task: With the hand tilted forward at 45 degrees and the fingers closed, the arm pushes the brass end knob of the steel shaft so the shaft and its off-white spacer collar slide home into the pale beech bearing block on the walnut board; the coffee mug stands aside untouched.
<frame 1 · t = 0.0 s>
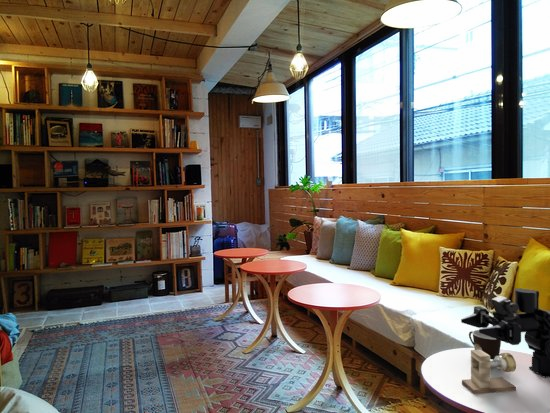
hand: (470, 325, 119), 17 cm above the table, tool horizontal, fingers open, 9 cm apart
shaft: (495, 363, 114), point 7 cm above the table, slide at 4.0 cm
coffee mug: (485, 362, 130), on the table
bearing stand: (488, 387, 114), on the table
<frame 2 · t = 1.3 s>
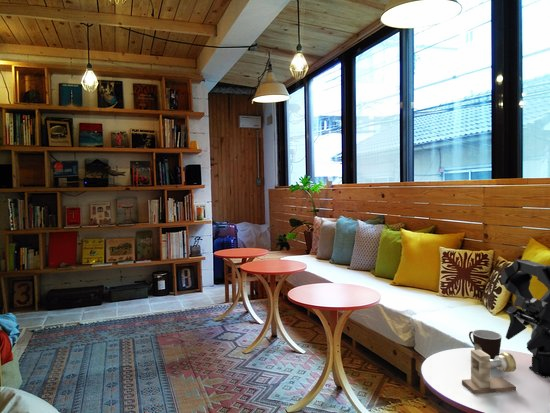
hand: (517, 343, 114), 12 cm above the table, tool tilted 45°, fingers open, 9 cm apart
nothing on the table moved.
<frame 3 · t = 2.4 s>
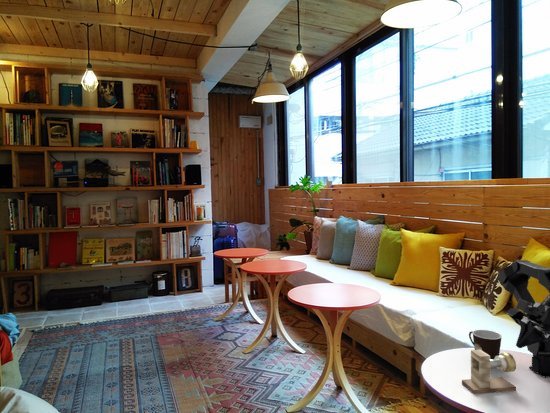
hand: (517, 346, 114), 12 cm above the table, tool tilted 45°, fingers closed
nothing on the table moved.
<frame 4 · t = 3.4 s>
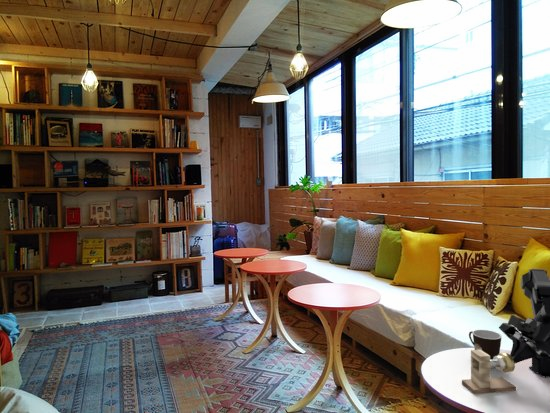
hand: (510, 362, 114), 7 cm above the table, tool tilted 45°, fingers closed
shaft: (494, 363, 114), point 7 cm above the table, slide at 3.6 cm, touching gripper
everything else where it was.
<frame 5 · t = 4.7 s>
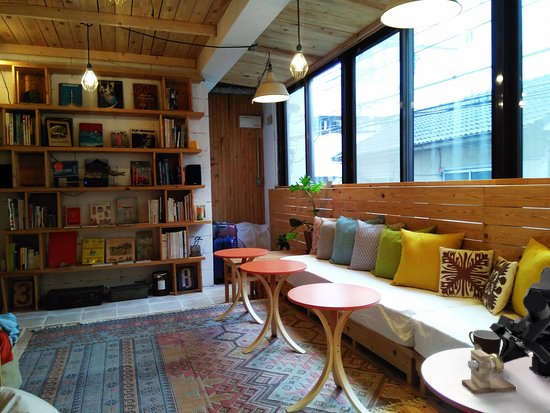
hand: (499, 362, 114), 7 cm above the table, tool tilted 45°, fingers closed
shaft: (484, 364, 113), point 7 cm above the table, slide at 0.2 cm
everything else where it was.
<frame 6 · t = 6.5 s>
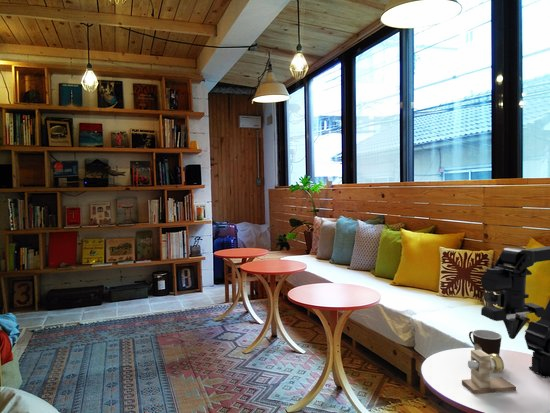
hand: (511, 338, 119), 12 cm above the table, tool pointing down, fingers closed
nothing on the table moved.
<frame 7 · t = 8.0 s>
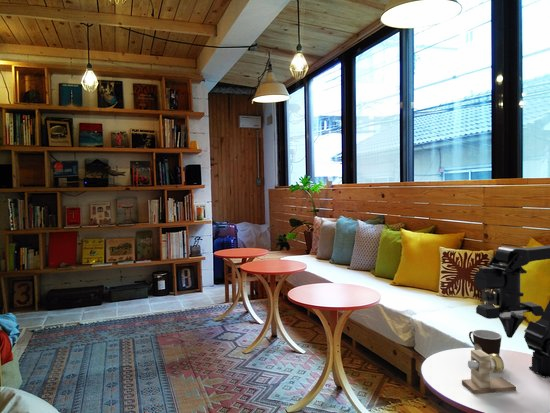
hand: (509, 337, 119), 12 cm above the table, tool pointing down, fingers closed
nothing on the table moved.
at the end: shaft slide at 0.2 cm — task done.
